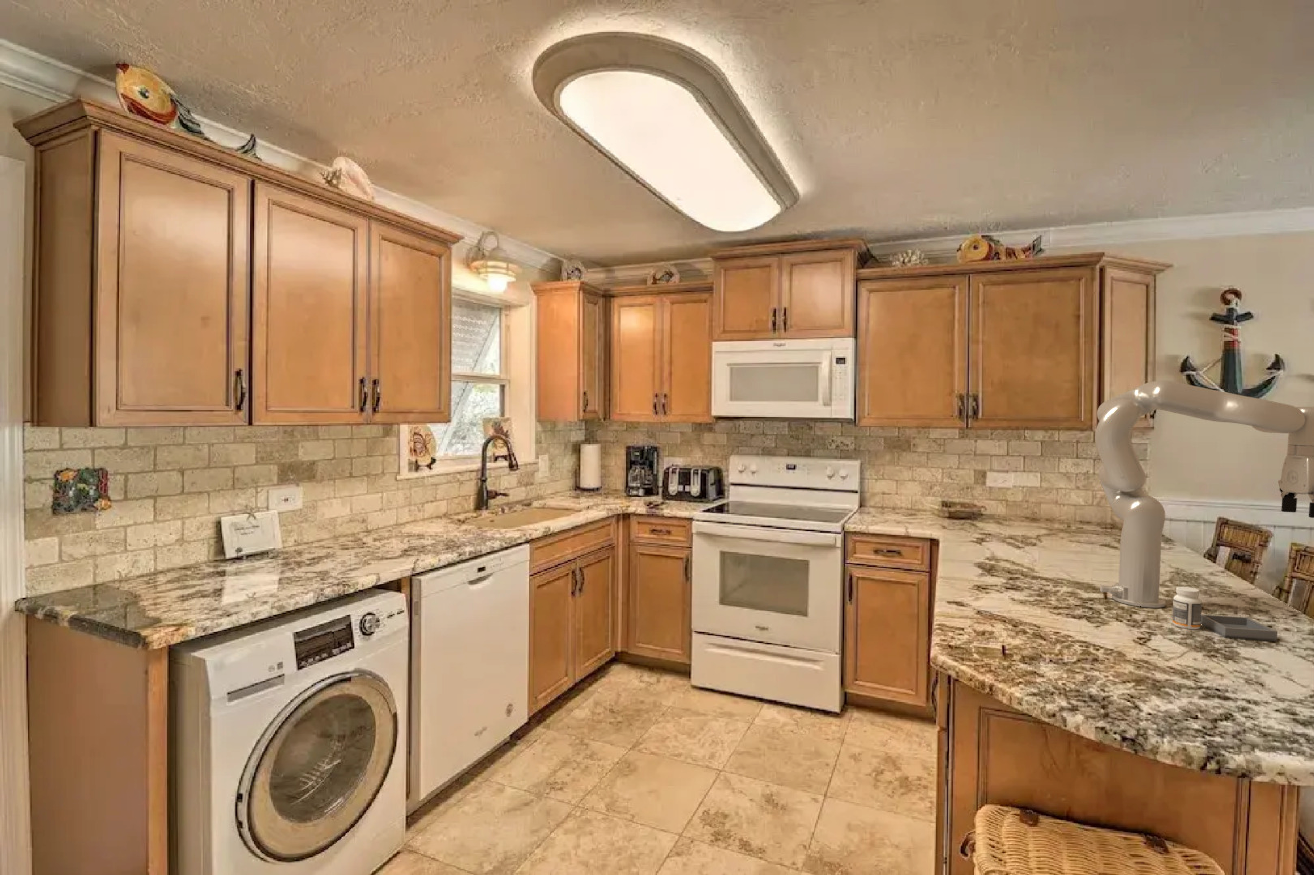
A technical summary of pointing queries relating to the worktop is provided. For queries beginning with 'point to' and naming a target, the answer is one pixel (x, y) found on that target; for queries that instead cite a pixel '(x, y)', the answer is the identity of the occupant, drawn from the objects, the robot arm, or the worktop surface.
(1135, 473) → the robot arm
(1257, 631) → the tray
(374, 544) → the worktop surface
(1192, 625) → the pill bottle
